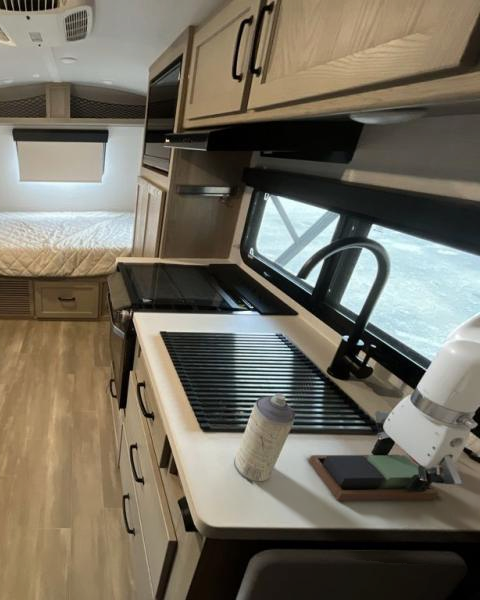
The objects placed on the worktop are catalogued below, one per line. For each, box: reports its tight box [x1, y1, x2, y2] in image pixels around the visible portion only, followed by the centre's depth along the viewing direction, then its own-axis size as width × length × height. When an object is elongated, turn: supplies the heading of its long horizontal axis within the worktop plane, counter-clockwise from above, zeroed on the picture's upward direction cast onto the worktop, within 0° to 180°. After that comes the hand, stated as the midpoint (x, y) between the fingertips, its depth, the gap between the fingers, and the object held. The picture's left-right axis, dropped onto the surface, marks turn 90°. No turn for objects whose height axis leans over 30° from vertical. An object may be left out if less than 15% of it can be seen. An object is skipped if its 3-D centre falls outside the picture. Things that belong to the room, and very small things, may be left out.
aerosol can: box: [233, 392, 296, 483], centre depth 66 cm, size 7×7×20 cm
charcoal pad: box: [322, 456, 384, 490], centre depth 67 cm, size 5×8×4 cm, turn 92°
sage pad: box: [367, 454, 419, 490], centre depth 68 cm, size 5×8×4 cm, turn 92°
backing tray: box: [308, 454, 439, 502], centre depth 68 cm, size 9×20×3 cm, turn 92°
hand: (395, 470), depth 67 cm, fingers open, 7 cm apart
